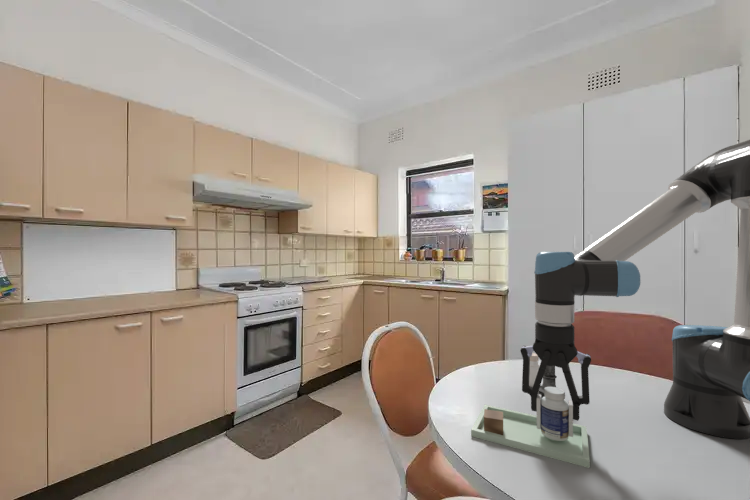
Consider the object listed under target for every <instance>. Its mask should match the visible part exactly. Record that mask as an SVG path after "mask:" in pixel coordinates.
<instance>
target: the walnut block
mask: <svg viewBox="0 0 750 500" xmlns="http://www.w3.org/2000/svg"><path fill="white" fill-rule="evenodd" d="M484 431H488V432H492V433H495V434H499V435H503V412H500V411H494V410H487V409H484Z"/></svg>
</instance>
